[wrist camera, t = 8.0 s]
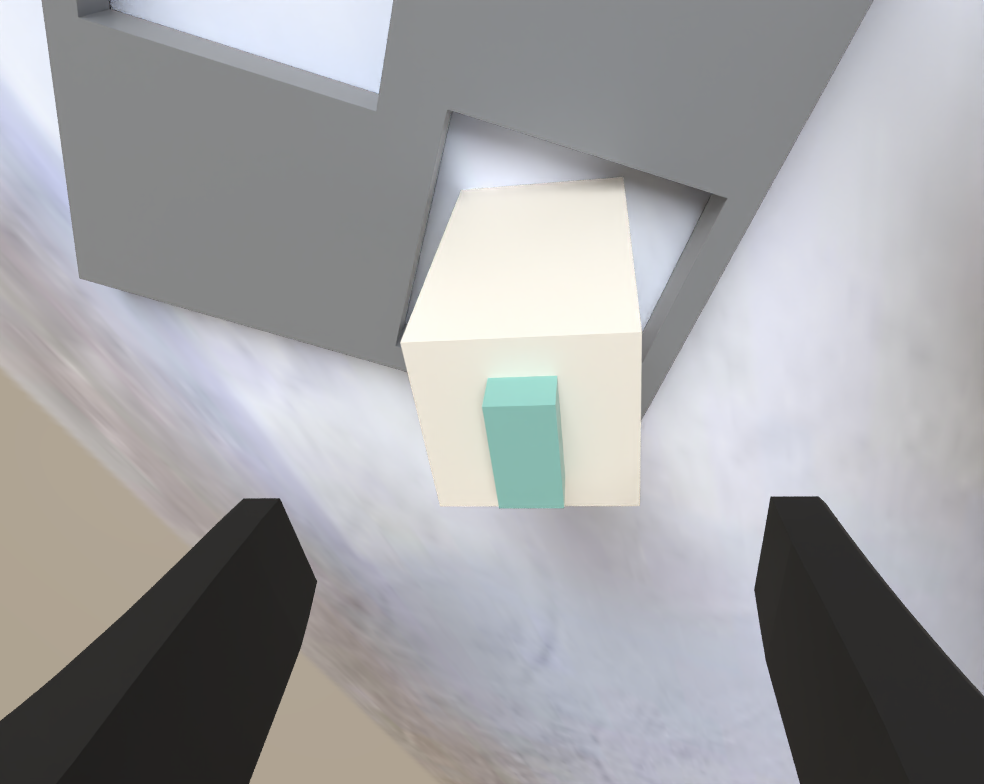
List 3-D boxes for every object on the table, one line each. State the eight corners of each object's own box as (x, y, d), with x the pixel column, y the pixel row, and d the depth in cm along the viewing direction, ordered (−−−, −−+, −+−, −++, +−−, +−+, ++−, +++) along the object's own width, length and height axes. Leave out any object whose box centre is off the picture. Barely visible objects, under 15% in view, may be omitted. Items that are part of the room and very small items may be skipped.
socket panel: (937, -168, 12) (967, -171, 11) (630, 410, 20) (632, 436, 19) (22, -507, 11) (-33, -544, 10) (104, 258, 19) (79, 277, 18)
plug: (623, 176, 16) (645, 360, 10) (624, 318, 19) (642, 538, 12) (461, 189, 17) (388, 370, 11) (482, 325, 19) (433, 536, 13)
